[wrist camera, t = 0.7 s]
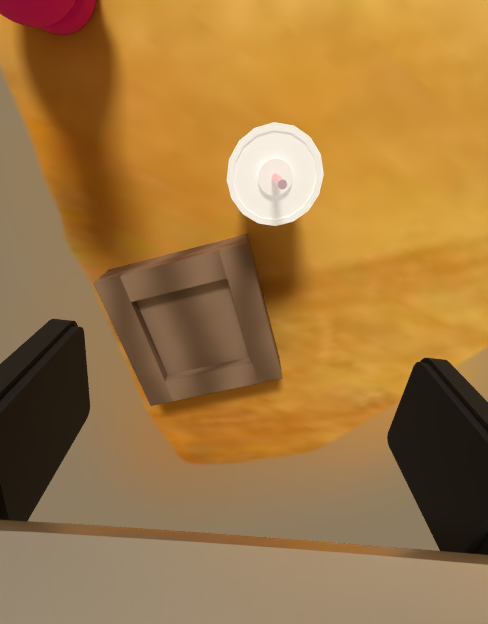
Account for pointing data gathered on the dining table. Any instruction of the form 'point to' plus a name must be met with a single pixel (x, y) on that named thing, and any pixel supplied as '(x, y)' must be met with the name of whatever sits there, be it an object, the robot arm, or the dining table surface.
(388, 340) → the dining table surface
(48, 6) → the pepper mill
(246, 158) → the beverage cup
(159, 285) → the walnut tray
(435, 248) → the dining table surface
